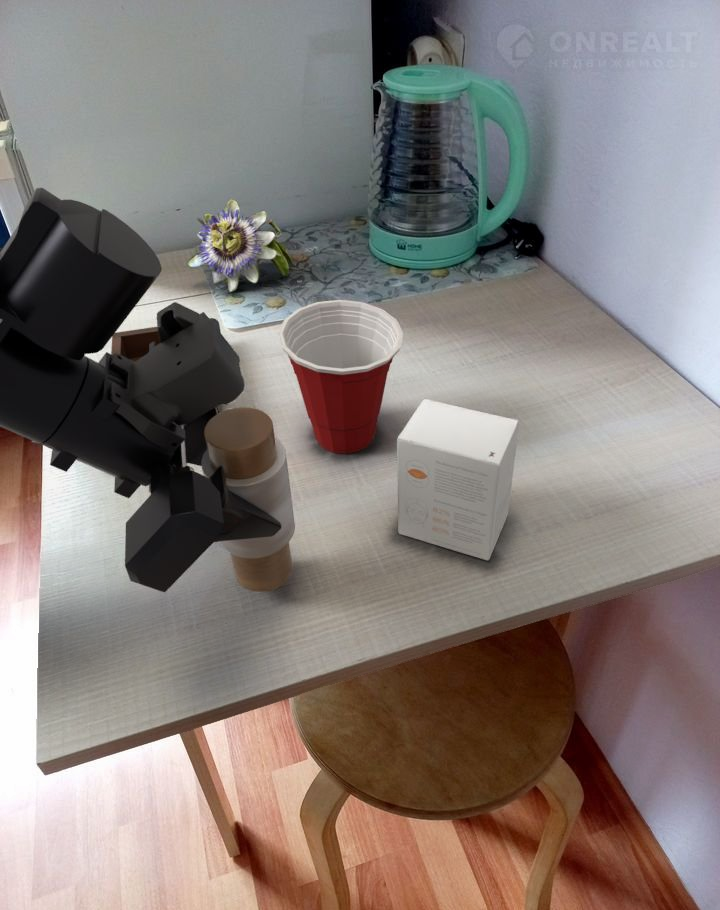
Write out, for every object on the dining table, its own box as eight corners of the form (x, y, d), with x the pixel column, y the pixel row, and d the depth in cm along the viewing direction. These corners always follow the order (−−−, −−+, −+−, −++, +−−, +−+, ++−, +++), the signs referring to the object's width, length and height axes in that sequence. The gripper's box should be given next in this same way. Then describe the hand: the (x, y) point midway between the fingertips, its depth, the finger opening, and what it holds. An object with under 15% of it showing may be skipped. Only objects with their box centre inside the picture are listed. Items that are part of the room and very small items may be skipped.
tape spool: (231, 605, 52) (196, 463, 43) (224, 549, 56) (191, 409, 47) (305, 590, 53) (288, 447, 44) (293, 536, 57) (275, 395, 48)
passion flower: (240, 325, 96) (173, 269, 88) (243, 275, 103) (180, 218, 95) (304, 283, 91) (239, 219, 83) (302, 233, 98) (242, 170, 90)
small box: (508, 517, 60) (523, 419, 53) (488, 564, 56) (502, 465, 49) (420, 491, 63) (423, 395, 56) (395, 534, 59) (395, 437, 52)
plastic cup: (348, 490, 63) (342, 380, 55) (268, 440, 69) (252, 333, 61) (425, 432, 69) (429, 324, 61) (345, 390, 75) (339, 286, 67)
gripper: (140, 395, 31) (382, 522, 40) (140, 229, 45) (320, 351, 54) (15, 549, 35) (261, 633, 44) (50, 352, 49) (232, 447, 58)
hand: (271, 500), depth 50 cm, fingers closed on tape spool, 5 cm apart
